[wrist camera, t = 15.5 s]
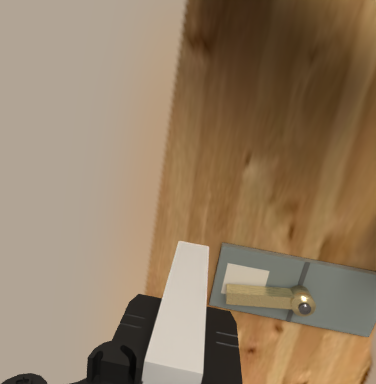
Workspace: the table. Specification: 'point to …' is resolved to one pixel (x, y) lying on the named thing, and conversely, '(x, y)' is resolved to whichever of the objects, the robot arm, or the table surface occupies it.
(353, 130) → the table surface
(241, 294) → the latch bar
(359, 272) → the door board
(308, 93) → the table surface
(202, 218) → the table surface
